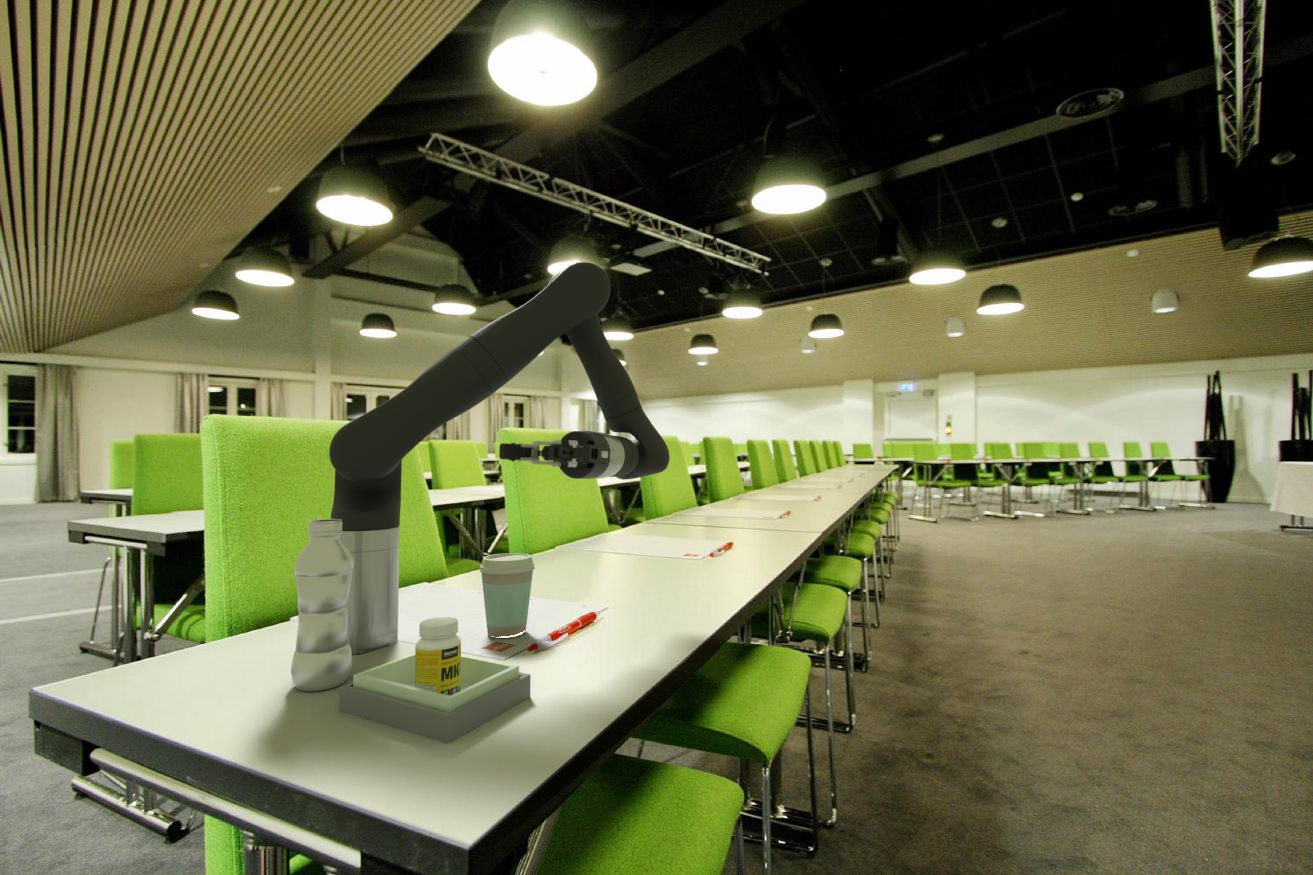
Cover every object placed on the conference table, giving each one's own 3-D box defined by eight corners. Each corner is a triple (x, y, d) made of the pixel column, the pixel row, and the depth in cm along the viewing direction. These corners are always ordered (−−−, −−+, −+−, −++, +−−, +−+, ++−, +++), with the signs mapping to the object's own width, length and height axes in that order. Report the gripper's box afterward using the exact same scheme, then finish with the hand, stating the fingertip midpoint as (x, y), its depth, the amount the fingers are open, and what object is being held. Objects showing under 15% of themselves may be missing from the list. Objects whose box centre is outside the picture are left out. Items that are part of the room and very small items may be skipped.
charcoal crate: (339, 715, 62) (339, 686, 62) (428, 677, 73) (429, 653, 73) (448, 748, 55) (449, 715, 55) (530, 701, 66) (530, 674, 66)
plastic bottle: (287, 703, 65) (291, 524, 66) (293, 682, 71) (297, 519, 72) (352, 692, 68) (355, 521, 69) (352, 673, 74) (355, 516, 75)
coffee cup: (531, 623, 97) (531, 551, 97) (537, 638, 89) (538, 559, 89) (477, 628, 94) (478, 554, 95) (479, 644, 86) (480, 562, 87)
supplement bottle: (444, 708, 61) (445, 628, 62) (405, 705, 62) (406, 625, 63) (468, 691, 66) (469, 616, 66) (431, 688, 67) (432, 614, 67)
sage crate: (352, 708, 63) (353, 674, 63) (428, 677, 72) (428, 647, 72) (449, 736, 56) (449, 698, 56) (518, 698, 65) (519, 665, 65)
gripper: (556, 431, 96) (486, 424, 81) (631, 431, 89) (570, 423, 75) (554, 477, 95) (484, 477, 81) (630, 480, 89) (568, 481, 75)
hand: (525, 451), depth 78 cm, fingers open, 8 cm apart
